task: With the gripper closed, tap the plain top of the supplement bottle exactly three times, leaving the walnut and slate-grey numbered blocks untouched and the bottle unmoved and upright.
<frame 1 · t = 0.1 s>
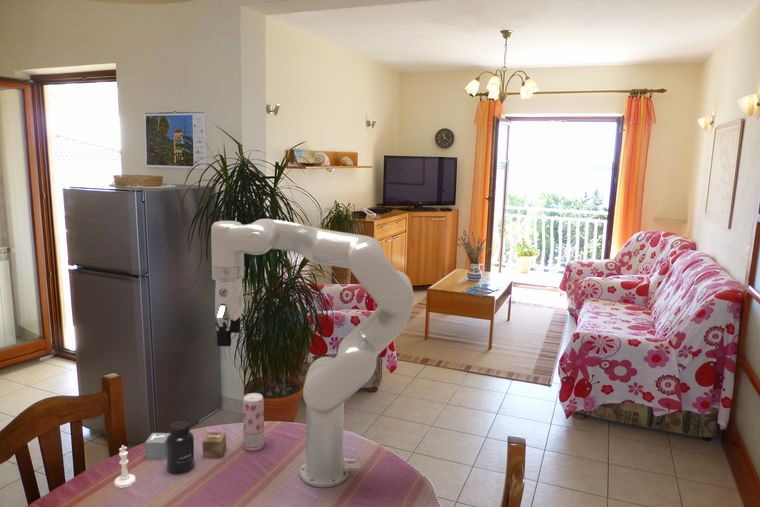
hand: (229, 338, 137), 37 cm above the table, tool pointing down, fingers open, 9 cm apart
supplement bottle: (180, 467, 145), on the table
beverage can: (253, 446, 157), on the table
walnut numbered block: (214, 453, 152), on the table
slate-grey numbered block: (158, 454, 151), on the table
chess piece: (125, 482, 138), on the table
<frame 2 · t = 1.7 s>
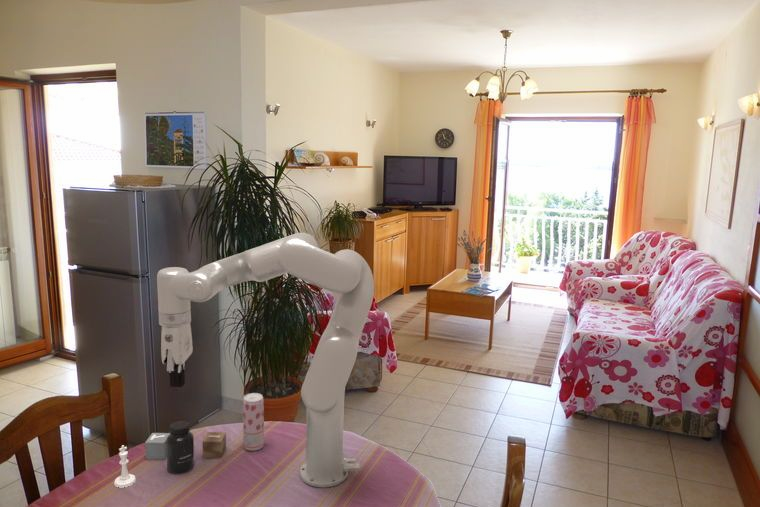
hand: (177, 385, 141), 23 cm above the table, tool pointing down, fingers closed
nothing on the table moved.
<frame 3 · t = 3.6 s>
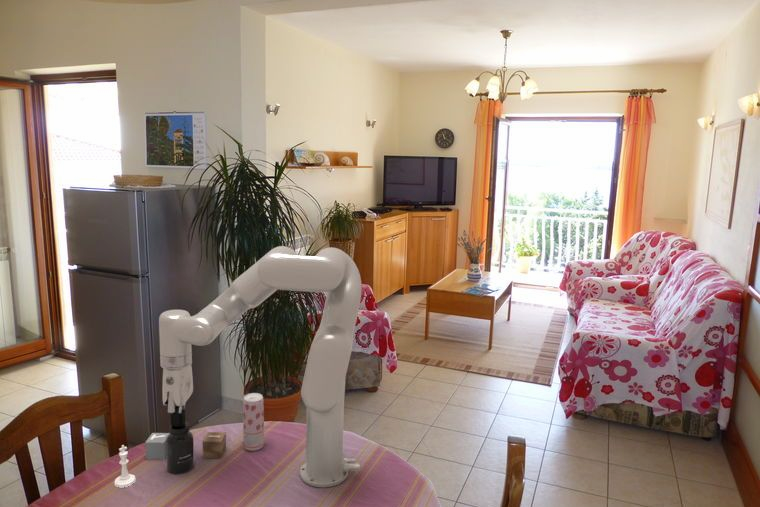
hand: (178, 424, 143), 12 cm above the table, tool pointing down, fingers closed
supplement bottle: (180, 467, 145), on the table, touching gripper
everything else where it was.
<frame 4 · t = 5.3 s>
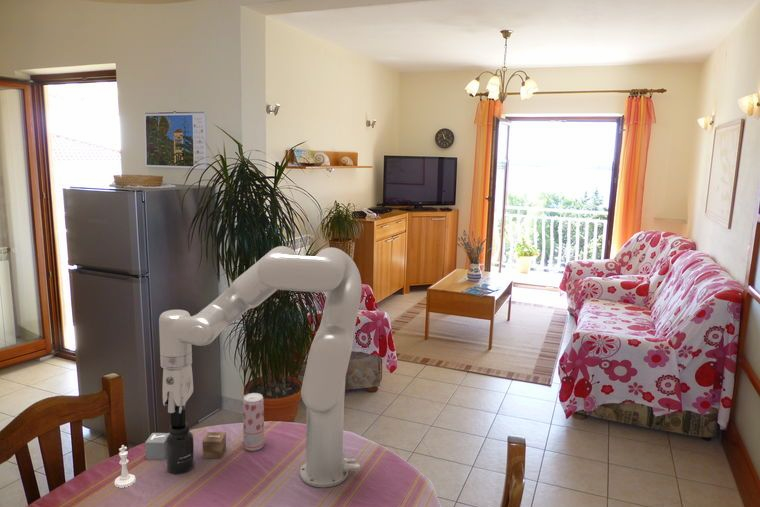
hand: (178, 425, 143), 12 cm above the table, tool pointing down, fingers closed
nothing on the table moved.
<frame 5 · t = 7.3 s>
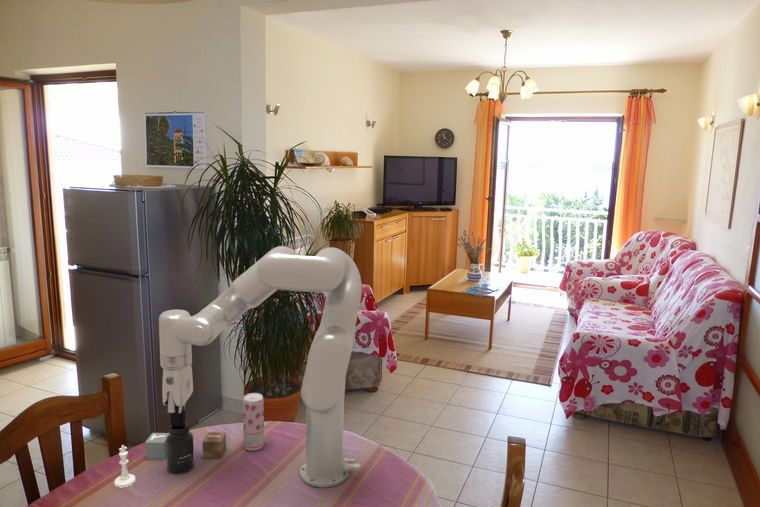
hand: (178, 424, 143), 12 cm above the table, tool pointing down, fingers closed
nothing on the table moved.
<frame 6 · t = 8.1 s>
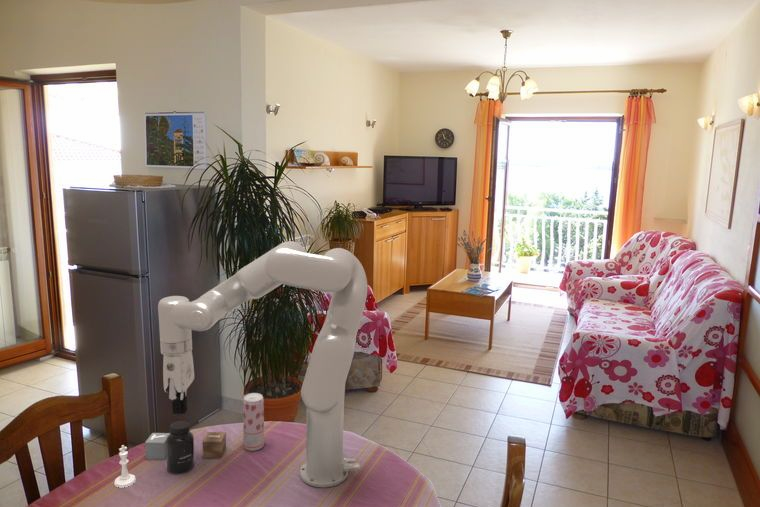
hand: (180, 412, 142), 16 cm above the table, tool pointing down, fingers closed
supplement bottle: (180, 467, 145), on the table
everything else where it was.
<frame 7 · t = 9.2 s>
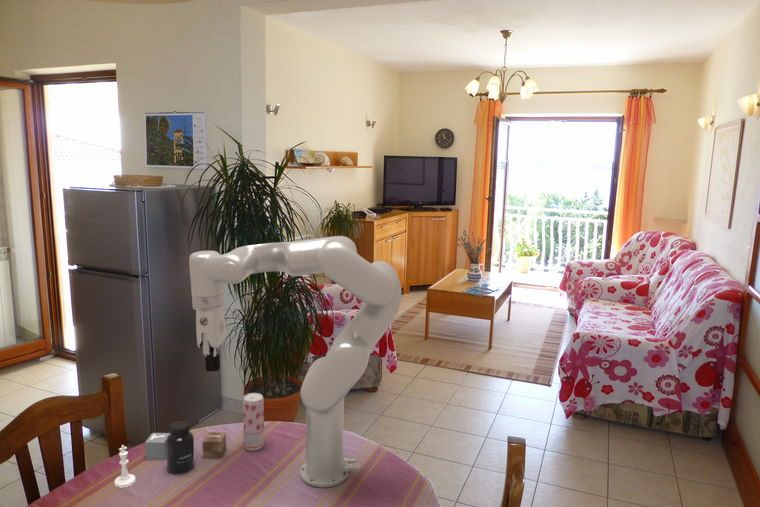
hand: (213, 369, 140), 28 cm above the table, tool pointing down, fingers closed
nothing on the table moved.
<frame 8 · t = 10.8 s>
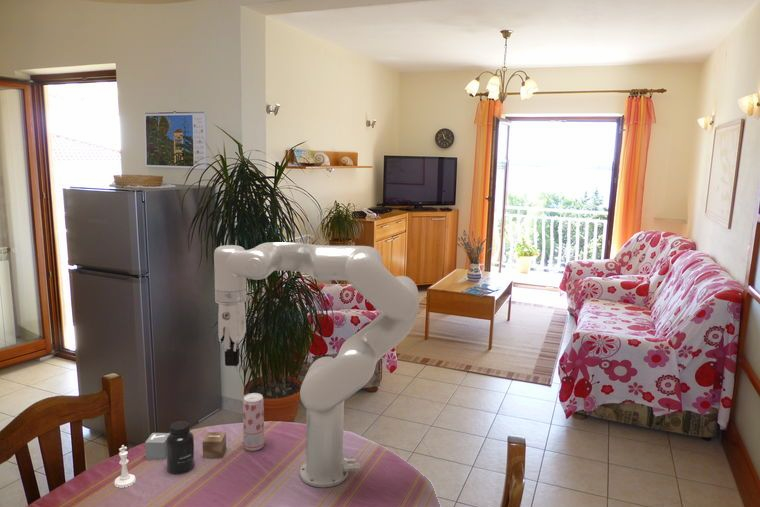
hand: (232, 364, 140), 29 cm above the table, tool pointing down, fingers closed
nothing on the table moved.
at the end: supplement bottle moved 0.2 cm from its start; supplement bottle tilted 0°; the gripper is holding nothing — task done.
